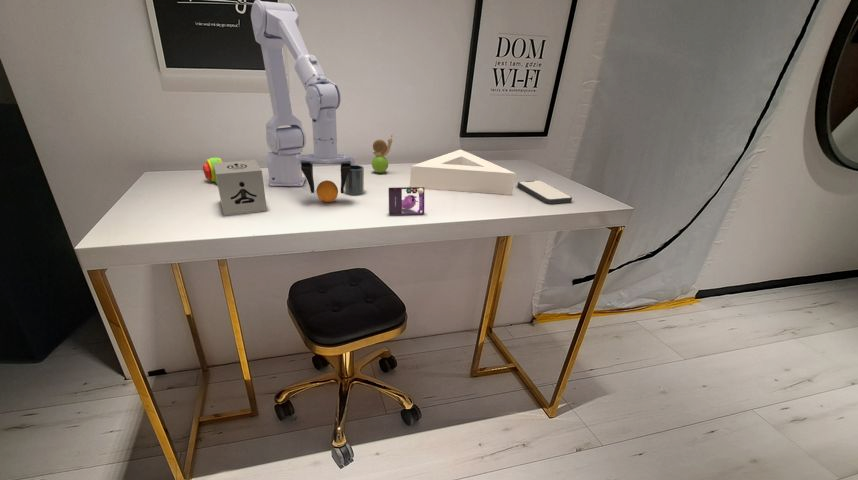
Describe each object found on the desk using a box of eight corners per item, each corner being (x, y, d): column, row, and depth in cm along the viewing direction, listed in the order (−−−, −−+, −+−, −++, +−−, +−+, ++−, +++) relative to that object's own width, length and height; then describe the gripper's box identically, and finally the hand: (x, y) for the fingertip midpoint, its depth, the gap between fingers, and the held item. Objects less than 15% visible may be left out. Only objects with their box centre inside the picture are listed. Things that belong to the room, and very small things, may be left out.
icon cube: (220, 201, 101) (213, 162, 96) (260, 197, 105) (255, 159, 99) (224, 215, 93) (216, 174, 88) (267, 210, 97) (261, 170, 92)
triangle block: (511, 195, 114) (516, 173, 111) (433, 204, 105) (435, 181, 102) (458, 167, 138) (460, 149, 134) (390, 173, 129) (391, 153, 125)
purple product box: (389, 187, 95) (425, 187, 96) (385, 188, 100) (420, 187, 101) (389, 215, 96) (425, 214, 98) (386, 214, 101) (420, 213, 103)
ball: (316, 205, 101) (315, 184, 98) (318, 197, 106) (316, 177, 103) (338, 205, 102) (337, 184, 99) (338, 198, 107) (338, 177, 104)
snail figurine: (390, 175, 127) (392, 136, 120) (371, 174, 127) (371, 135, 120) (391, 170, 131) (392, 133, 125) (372, 169, 131) (372, 132, 125)
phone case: (573, 203, 111) (539, 184, 124) (574, 197, 110) (540, 179, 123) (546, 205, 108) (514, 186, 121) (548, 200, 108) (516, 181, 120)
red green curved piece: (211, 188, 110) (206, 164, 106) (197, 170, 123) (192, 149, 120) (234, 184, 113) (230, 161, 109) (218, 168, 126) (214, 147, 123)
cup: (344, 195, 109) (343, 170, 105) (344, 188, 113) (344, 164, 110) (363, 195, 109) (363, 170, 106) (363, 189, 114) (363, 165, 110)
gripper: (292, 140, 92) (297, 196, 99) (354, 142, 93) (355, 197, 100) (296, 134, 98) (300, 187, 105) (354, 136, 99) (355, 188, 106)
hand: (327, 191), depth 103 cm, fingers open, 7 cm apart
